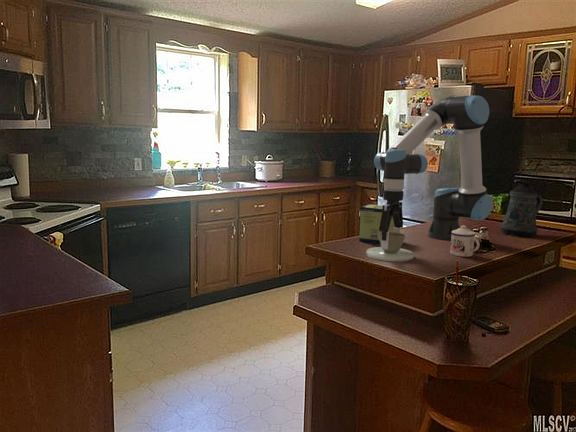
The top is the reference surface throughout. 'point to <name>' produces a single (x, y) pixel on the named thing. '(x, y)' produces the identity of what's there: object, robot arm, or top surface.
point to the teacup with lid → (463, 242)
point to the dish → (390, 255)
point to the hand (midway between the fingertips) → (390, 246)
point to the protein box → (371, 223)
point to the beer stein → (522, 211)
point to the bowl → (393, 242)
